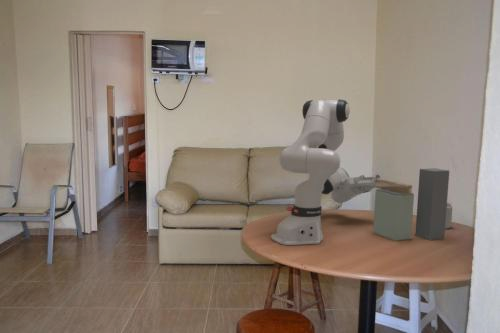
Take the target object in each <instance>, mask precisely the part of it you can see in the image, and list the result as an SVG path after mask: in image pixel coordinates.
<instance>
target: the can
mask: <svg viewBox="0 0 500 333" xmlns="http://www.w3.org/2000/svg"><path fill="white" fill-rule="evenodd" d="M452 214H453V206H452V203H450V202H447V209H446V222H445V230H448V229H450V228H451V227H452V219H453V218H452V217H453V215H452Z"/></svg>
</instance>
